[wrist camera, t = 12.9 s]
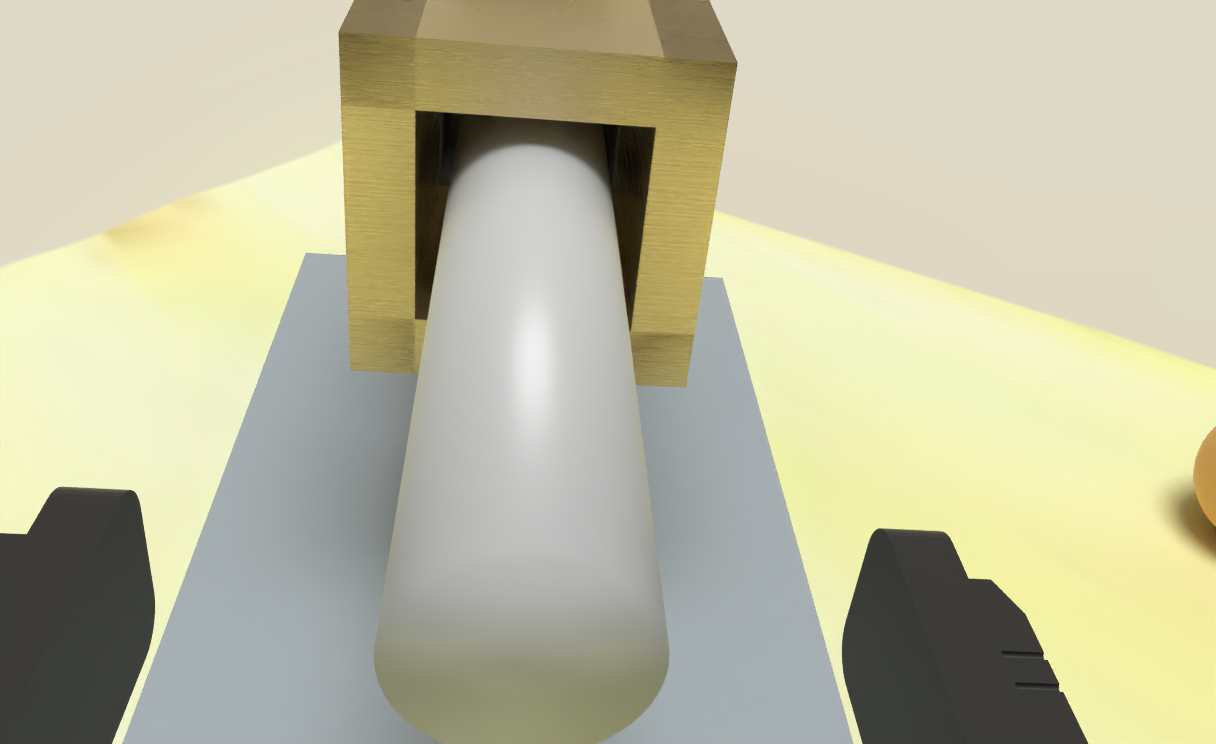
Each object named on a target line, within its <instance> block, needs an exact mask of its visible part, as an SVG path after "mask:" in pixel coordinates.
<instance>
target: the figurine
mask: <svg viewBox="0 0 1216 744" xmlns="http://www.w3.org/2000/svg"><path fill="white" fill-rule="evenodd" d="M1194 487H1195V492H1196V496H1197V499H1198V502H1199V504H1200V506H1201V508H1202V510H1203V512H1204V513H1205V515H1206V516H1207V518H1208V519H1209V520H1210V522H1211V523H1212V524H1213V525H1214V526H1215V527H1216V427H1215V428H1214V429H1213V430H1212V431H1211V432H1210V433H1209V434H1208V435H1207V437H1206V438H1205V440H1204V441H1203V443H1202V445H1201V447H1200V449H1199V451H1198V454H1197V456H1196V460H1195V465H1194Z"/></svg>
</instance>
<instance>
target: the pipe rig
mask: <svg viewBox="0 0 1216 744" xmlns="http://www.w3.org/2000/svg"><path fill="white" fill-rule="evenodd" d="M123 744H853V741H852V737H851V734H850V730H849V727H848V723H847V719H846V716H845V712H844V709H843V705H842V702H841V698H840V695H839V691H838V687H837V684H836V680H835V677H834V673H833V670H832V666H831V663H830V659H829V655H828V652H827V648H826V645H825V641H824V638H823V634H822V630H821V627H820V623H819V620H818V616H817V613H816V609H815V606H814V602H813V598H812V595H811V591H810V588H809V584H808V581H807V577H806V574H805V570H804V566H803V563H802V559H801V556H800V552H799V549H798V545H797V541H796V538H795V534H794V531H793V527H792V524H791V520H790V517H789V513H788V509H787V506H786V502H785V499H784V495H783V492H782V488H781V485H780V481H779V477H778V474H777V470H776V467H775V463H774V460H773V456H772V452H771V449H770V445H769V442H768V438H767V435H766V431H765V428H764V424H763V420H762V417H761V413H760V410H759V406H758V403H757V399H756V396H755V392H754V388H753V385H752V381H751V378H750V374H749V371H748V367H747V364H746V360H745V356H744V353H743V349H742V346H741V342H740V339H739V335H738V331H737V328H736V324H735V321H734V317H733V314H732V310H731V307H730V303H729V299H728V296H727V292H726V289H725V285H724V282H723V278H713V277H704V278H703V284H702V290H701V296H700V303H699V309H698V315H697V322H696V328H695V334H694V341H693V347H692V353H691V359H690V366H689V372H688V378H687V385H686V388H681V387H661V386H641V385H636V381H635V374H634V366H633V358H632V350H631V342H630V334H629V326H628V318H627V311H626V303H625V295H624V287H623V279H622V271H621V263H620V255H619V248H618V240H617V232H616V224H615V216H614V208H613V200H612V193H611V185H610V177H609V169H608V161H607V153H606V145H605V137H604V130H603V124H600V123H586V122H572V121H559V120H545V119H531V118H517V117H503V116H489V115H476V114H462V113H461V116H460V122H459V128H458V134H457V140H456V146H455V153H454V159H453V165H452V171H451V177H450V183H449V190H448V196H447V202H446V208H445V214H444V220H443V227H442V233H441V239H440V245H439V251H438V257H437V264H436V270H435V276H434V282H433V288H432V294H431V301H430V307H429V313H428V319H427V325H426V331H425V338H424V344H423V350H422V356H421V362H420V368H419V374H406V373H386V372H367V371H350V351H349V322H348V292H347V263H346V255H332V254H315V253H306V254H305V257H304V259H303V262H302V265H301V267H300V270H299V273H298V275H297V278H296V281H295V283H294V286H293V289H292V291H291V294H290V297H289V300H288V302H287V305H286V308H285V310H284V313H283V316H282V318H281V321H280V324H279V326H278V329H277V332H276V334H275V337H274V340H273V342H272V345H271V348H270V350H269V353H268V356H267V358H266V361H265V364H264V366H263V369H262V372H261V374H260V377H259V380H258V382H257V385H256V388H255V390H254V393H253V396H252V399H251V401H250V404H249V407H248V409H247V412H246V415H245V417H244V420H243V423H242V425H241V428H240V431H239V433H238V436H237V439H236V441H235V444H234V447H233V449H232V452H231V455H230V457H229V460H228V463H227V465H226V468H225V471H224V473H223V476H222V479H221V481H220V484H219V487H218V489H217V492H216V495H215V497H214V500H213V503H212V506H211V508H210V511H209V514H208V516H207V519H206V522H205V524H204V527H203V530H202V532H201V535H200V538H199V540H198V543H197V546H196V548H195V551H194V554H193V556H192V559H191V562H190V564H189V567H188V570H187V572H186V575H185V578H184V580H183V583H182V586H181V588H180V591H179V594H178V596H177V599H176V602H175V605H174V607H173V610H172V613H171V615H170V618H169V621H168V623H167V626H166V629H165V631H164V634H163V637H162V639H161V642H160V645H159V647H158V650H157V653H156V655H155V658H154V661H153V663H152V666H151V669H150V671H149V674H148V677H147V679H146V682H145V685H144V687H143V690H142V693H141V695H140V698H139V701H138V704H137V706H136V709H135V712H134V714H133V717H132V720H131V722H130V725H129V728H128V730H127V733H126V736H125V738H124V741H123Z"/></svg>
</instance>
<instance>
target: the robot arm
mask: <svg viewBox="0 0 1216 744" xmlns="http://www.w3.org/2000/svg"><path fill="white" fill-rule="evenodd" d="M154 618H155V596H154V589H153V582H152V576H151V570H150V563H149V557H148V551H147V544H146V538H145V532H144V525H143V519H142V513H141V507H140V502H139V499H138V497H137V495H136V493H135V492H134V491H132V490H117V489H97V488H76V487H58V488H56V489H55V490H54V491H53V492H52V493H51V494H50V496H49V497H48V499H47V501H46V502H45V504H44V506H43V508H42V509H41V511H40V513H39V514H38V516H37V518H36V520H35V521H34V523H33V525H32V526H31V528H30V530H29V531H28V533H27V534H5V533H0V744H112V742H113V739H114V737H115V734H116V732H117V729H118V727H119V724H120V722H121V719H122V717H123V714H124V712H125V709H126V707H127V704H128V702H129V699H130V697H131V694H132V691H133V689H134V686H135V684H136V681H137V679H138V676H139V674H140V671H141V669H142V666H143V664H144V661H145V659H146V656H147V653H148V650H149V647H150V643H151V638H152V633H153V627H154ZM1043 654H1044V652H1043V650H1042V647H1041V645H1040V643H1039V641H1038V639H1037V637H1036V635H1035V633H1034V631H1033V629H1032V627H1031V625H1030V623H1029V621H1028V619H1027V617H1026V615H1025V613H1024V612H1023V611H1022V610H1021V609H1020V608H1019V607H1018V606H1017V605H1016V604H1015V603H1014V602H1013V601H1012V600H1011V599H1010V598H1009V597H1008V596H1007V595H1006V594H1005V593H1004V592H1003V591H1002V590H1001V589H1000V588H999V587H998V586H997V585H996V584H995V583H994V582H993V581H992V580H988V579H968V576H967V574H966V572H965V570H964V567H963V565H962V563H961V561H960V558H959V556H958V554H957V552H956V549H955V547H954V545H953V543H952V541H951V539H950V537H949V536H948V535H947V534H946V533H945V532H942V531H923V530H902V529H882V528H880V529H877V530H875V531H874V533H873V534H872V536H871V538H870V541H869V544H868V547H867V550H866V554H865V557H864V561H863V564H862V568H861V571H860V574H859V578H858V581H857V585H856V588H855V592H854V595H853V598H852V602H851V605H850V609H849V612H848V616H847V619H846V623H845V627H844V632H843V641H842V664H843V673H844V679H845V683H846V687H847V690H848V694H849V697H850V701H851V704H852V708H853V711H854V715H855V718H856V722H857V725H858V729H859V732H860V736H861V740H862V743H863V744H1088V742H1087V740H1086V738H1085V736H1084V734H1083V732H1082V730H1081V728H1080V725H1079V723H1078V721H1077V719H1076V717H1075V715H1074V713H1073V711H1072V709H1071V707H1070V705H1069V703H1068V701H1067V699H1066V697H1065V695H1064V693H1063V692H1060V691H1059V682H1058V680H1057V678H1056V676H1055V674H1054V672H1053V670H1052V668H1051V666H1050V664H1049V662H1048V660H1044V657H1043Z"/></svg>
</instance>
